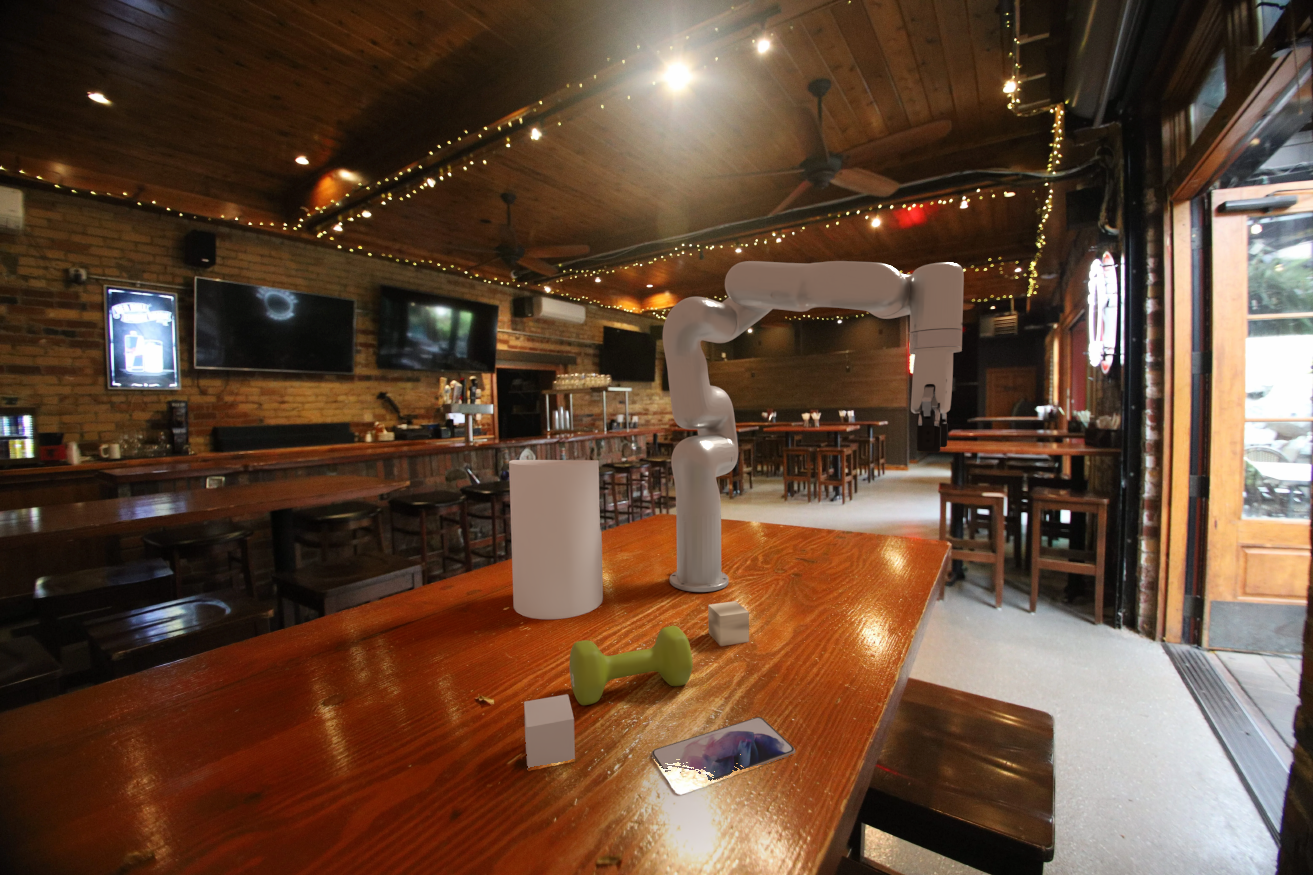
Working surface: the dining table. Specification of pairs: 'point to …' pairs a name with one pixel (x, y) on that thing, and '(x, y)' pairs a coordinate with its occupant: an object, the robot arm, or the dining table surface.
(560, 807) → the dining table surface
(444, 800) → the dining table surface
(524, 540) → the cylinder
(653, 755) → the smartphone
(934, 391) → the robot arm
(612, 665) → the dumbbell
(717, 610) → the maple block
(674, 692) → the dining table surface
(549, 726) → the grey block
